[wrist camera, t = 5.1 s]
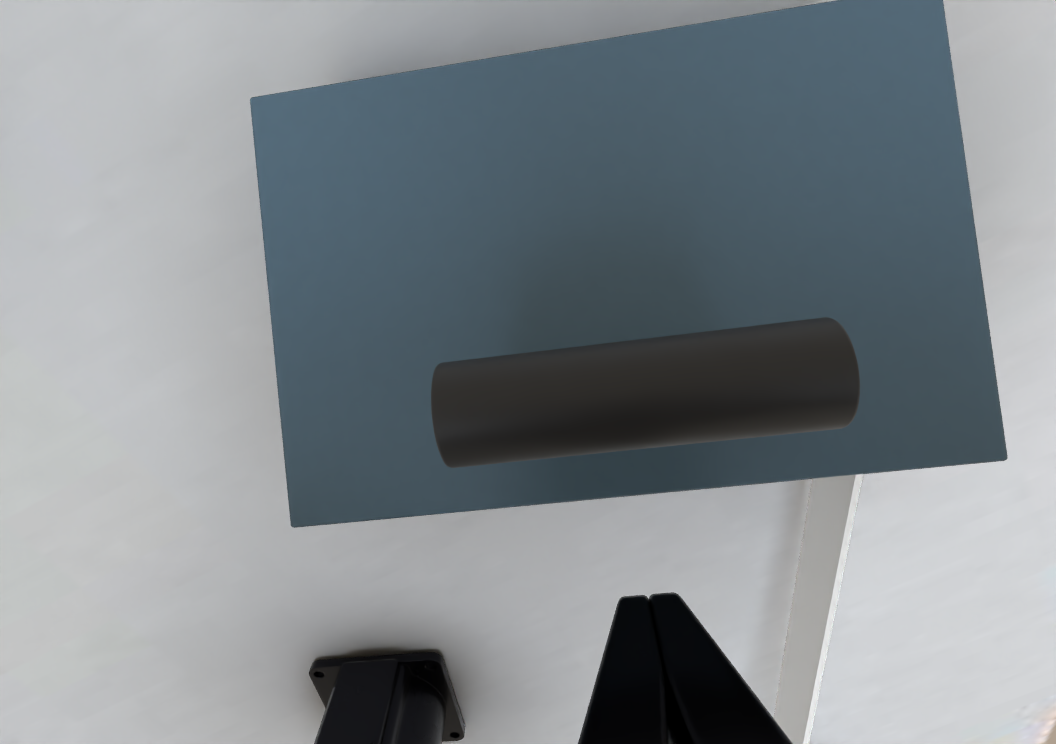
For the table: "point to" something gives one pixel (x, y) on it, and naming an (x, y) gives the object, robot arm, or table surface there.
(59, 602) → the table surface
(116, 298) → the table surface
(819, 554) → the white guitar
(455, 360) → the lid
